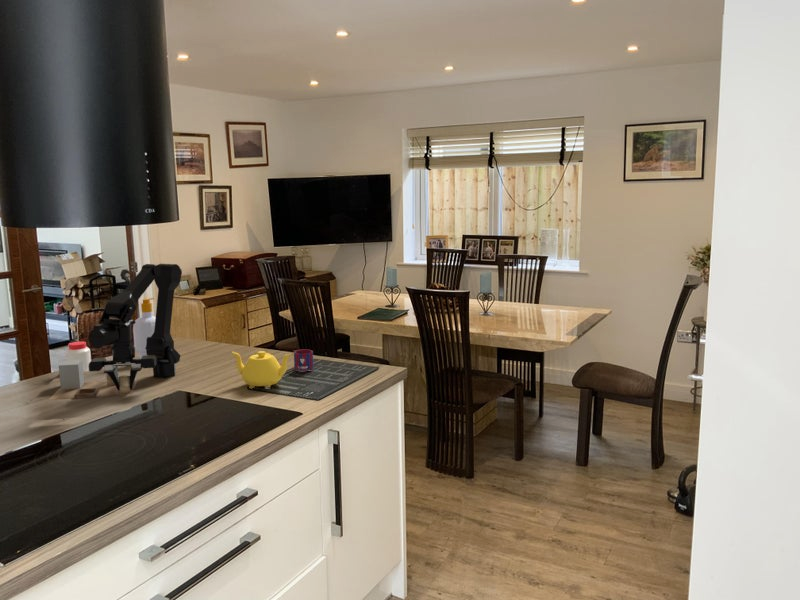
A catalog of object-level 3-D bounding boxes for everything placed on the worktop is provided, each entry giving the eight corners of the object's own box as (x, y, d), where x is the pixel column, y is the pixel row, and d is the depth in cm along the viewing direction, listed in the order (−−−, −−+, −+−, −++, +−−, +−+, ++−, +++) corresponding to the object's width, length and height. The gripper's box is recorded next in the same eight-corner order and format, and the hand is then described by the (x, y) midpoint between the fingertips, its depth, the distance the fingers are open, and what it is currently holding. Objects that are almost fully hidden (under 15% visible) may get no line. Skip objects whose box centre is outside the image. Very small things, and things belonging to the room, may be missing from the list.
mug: (293, 372, 225) (292, 353, 224) (297, 365, 235) (296, 347, 234) (312, 372, 225) (311, 354, 224) (315, 365, 235) (315, 347, 234)
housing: (84, 383, 207) (82, 359, 206) (80, 388, 202) (78, 364, 201) (65, 384, 206) (63, 360, 205) (60, 389, 201) (58, 365, 199)
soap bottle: (171, 362, 238) (167, 298, 234) (147, 368, 230) (142, 302, 226) (153, 358, 244) (149, 295, 240) (129, 364, 235) (124, 299, 231)
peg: (118, 382, 208) (117, 367, 207) (116, 385, 205) (115, 370, 204) (108, 383, 207) (106, 368, 206) (106, 386, 204) (104, 371, 203)
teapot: (298, 378, 218) (297, 346, 216) (287, 392, 203) (286, 357, 202) (241, 377, 220) (239, 344, 218) (226, 390, 205) (224, 356, 203)
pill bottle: (74, 378, 218) (71, 347, 216) (63, 374, 222) (60, 343, 220) (96, 373, 224) (93, 342, 222) (85, 369, 228) (82, 339, 226)
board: (139, 383, 212) (138, 375, 211) (131, 399, 196) (130, 390, 196) (63, 388, 206) (62, 380, 206) (48, 404, 191) (48, 396, 190)
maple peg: (131, 390, 200) (130, 375, 199) (130, 393, 197) (129, 377, 196) (120, 391, 199) (119, 375, 198) (119, 394, 196) (117, 378, 195)
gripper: (157, 333, 205) (160, 380, 208) (94, 336, 201) (98, 384, 204) (152, 341, 195) (155, 390, 197) (86, 344, 190) (90, 395, 193)
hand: (125, 389), depth 198 cm, fingers closed on maple peg, 3 cm apart
